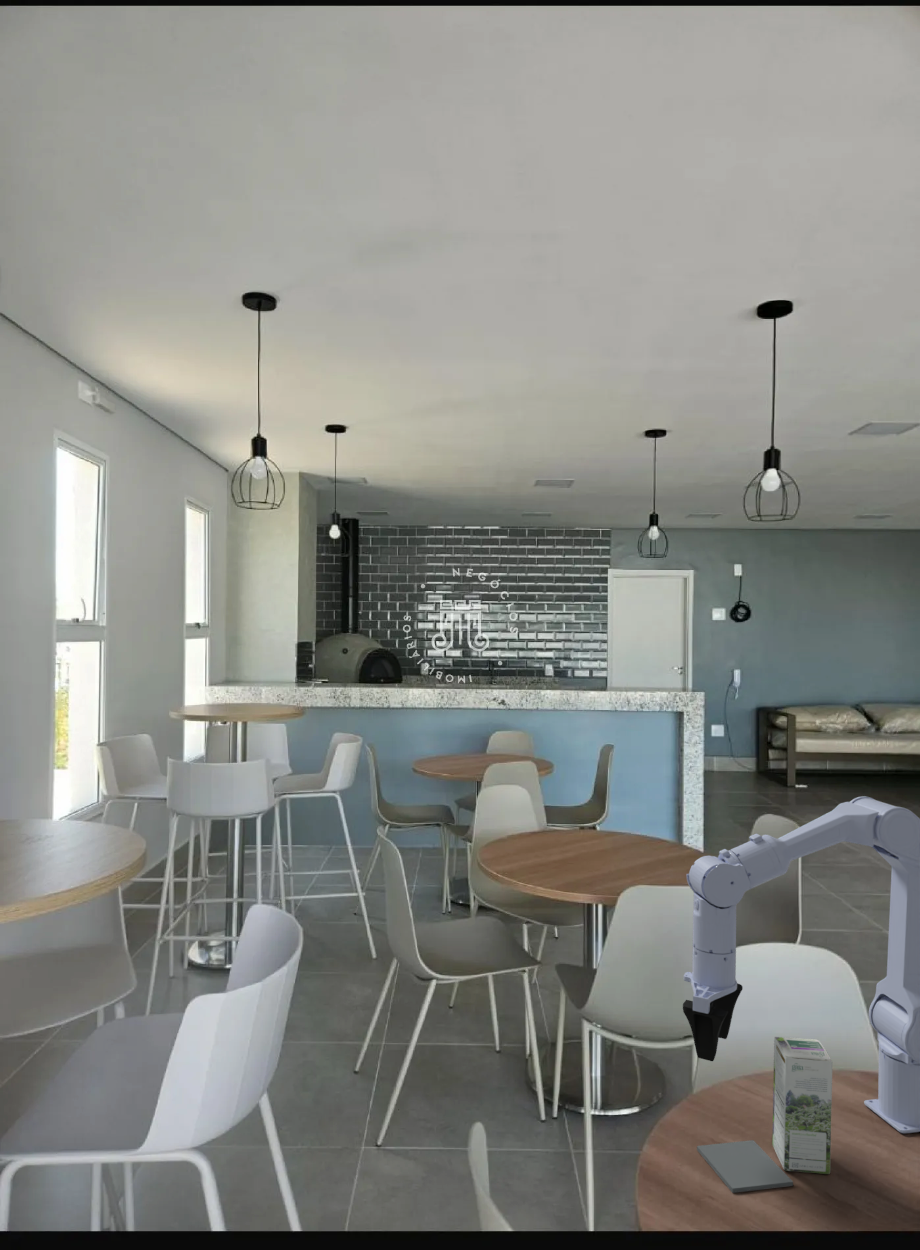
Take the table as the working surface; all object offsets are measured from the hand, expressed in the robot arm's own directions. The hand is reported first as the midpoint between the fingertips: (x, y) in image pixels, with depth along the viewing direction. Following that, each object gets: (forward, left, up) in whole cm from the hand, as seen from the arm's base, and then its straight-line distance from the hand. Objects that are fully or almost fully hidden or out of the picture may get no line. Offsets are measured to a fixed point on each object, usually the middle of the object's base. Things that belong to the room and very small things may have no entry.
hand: (712, 1047), depth 119 cm
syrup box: (-7, +10, -10) cm, 16 cm away
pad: (+1, +10, -10) cm, 14 cm away
